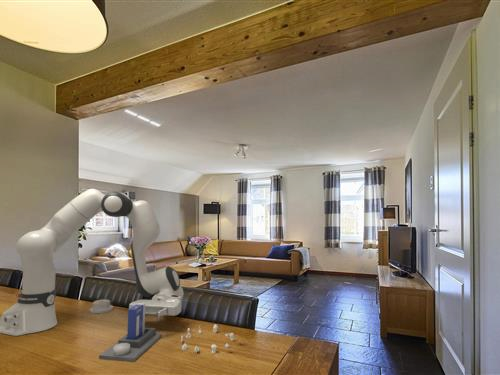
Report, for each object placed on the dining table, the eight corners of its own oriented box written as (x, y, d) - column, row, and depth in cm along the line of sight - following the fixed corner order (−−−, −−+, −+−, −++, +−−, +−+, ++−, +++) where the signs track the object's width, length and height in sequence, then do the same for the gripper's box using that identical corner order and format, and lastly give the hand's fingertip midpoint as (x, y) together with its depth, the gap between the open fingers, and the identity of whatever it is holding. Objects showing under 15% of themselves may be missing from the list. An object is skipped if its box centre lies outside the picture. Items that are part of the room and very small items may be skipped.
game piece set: (202, 328, 123) (202, 318, 123) (244, 339, 113) (244, 328, 113) (166, 346, 106) (167, 335, 106) (212, 361, 96) (212, 348, 96)
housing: (98, 358, 96) (99, 348, 97) (132, 334, 116) (132, 325, 116) (133, 361, 95) (134, 351, 95) (162, 336, 114) (162, 327, 114)
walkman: (134, 344, 105) (135, 308, 106) (126, 344, 105) (128, 308, 106) (144, 335, 112) (145, 302, 113) (137, 335, 113) (138, 301, 114)
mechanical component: (84, 313, 141) (103, 314, 139) (85, 303, 141) (104, 304, 139) (99, 306, 150) (117, 308, 148) (99, 297, 151) (117, 298, 149)
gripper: (139, 294, 130) (120, 304, 116) (184, 296, 126) (171, 306, 113) (138, 309, 129) (119, 321, 115) (184, 312, 126) (170, 324, 112)
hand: (145, 313), depth 114 cm, fingers open, 8 cm apart
